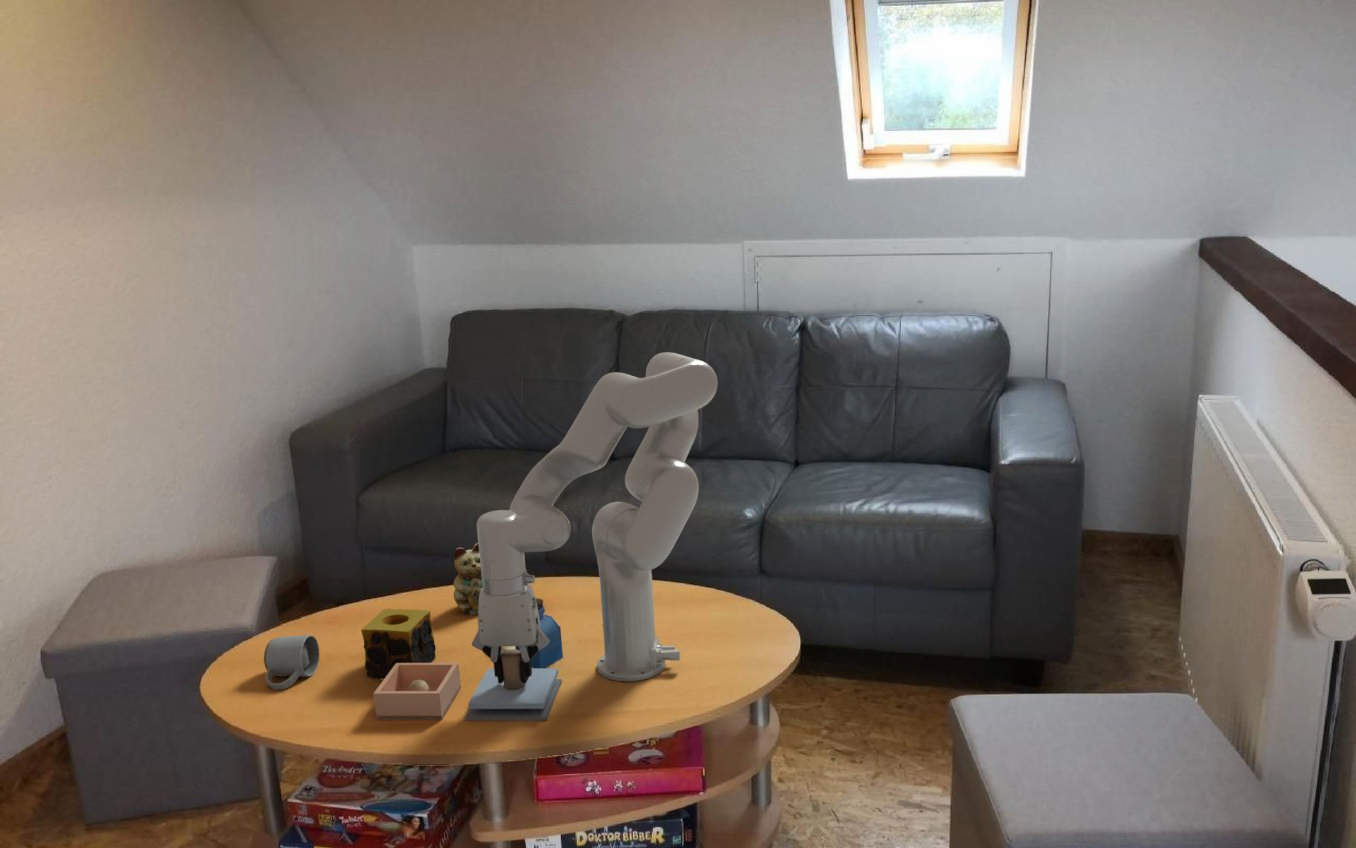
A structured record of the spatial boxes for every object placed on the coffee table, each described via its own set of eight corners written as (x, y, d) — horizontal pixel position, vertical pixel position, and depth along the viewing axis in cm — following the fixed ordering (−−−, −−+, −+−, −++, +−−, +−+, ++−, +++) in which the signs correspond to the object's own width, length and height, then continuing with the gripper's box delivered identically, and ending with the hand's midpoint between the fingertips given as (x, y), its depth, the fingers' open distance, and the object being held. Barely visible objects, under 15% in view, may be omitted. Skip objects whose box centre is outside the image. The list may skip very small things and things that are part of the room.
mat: (561, 682, 204) (561, 679, 204) (546, 720, 191) (545, 717, 191) (486, 682, 206) (486, 679, 206) (465, 720, 192) (465, 717, 192)
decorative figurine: (461, 620, 234) (454, 552, 230) (449, 607, 241) (442, 541, 237) (505, 609, 238) (499, 542, 235) (492, 596, 245) (485, 531, 242)
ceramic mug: (282, 664, 217) (276, 628, 215) (322, 665, 216) (317, 628, 214) (256, 691, 207) (250, 653, 205) (298, 692, 206) (292, 653, 204)
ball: (432, 694, 200) (430, 676, 199) (426, 704, 197) (424, 685, 196) (412, 694, 201) (410, 676, 200) (406, 704, 197) (404, 685, 196)
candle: (415, 682, 207) (409, 632, 205) (365, 679, 210) (359, 630, 207) (437, 657, 217) (432, 609, 215) (389, 655, 219) (383, 607, 217)
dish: (461, 688, 204) (458, 662, 203) (442, 720, 193) (439, 693, 192) (399, 688, 205) (396, 663, 204) (376, 719, 194) (373, 693, 193)
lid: (558, 673, 203) (555, 637, 202) (543, 708, 191) (540, 671, 189) (488, 673, 205) (484, 638, 203) (468, 708, 192) (464, 671, 190)
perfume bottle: (562, 657, 214) (558, 598, 211) (541, 670, 209) (536, 610, 206) (538, 650, 218) (533, 593, 215) (516, 663, 213) (511, 604, 210)
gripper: (556, 573, 196) (564, 670, 200) (463, 574, 197) (473, 670, 202) (547, 590, 188) (556, 690, 193) (451, 591, 190) (462, 690, 195)
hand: (513, 679), depth 197 cm, fingers closed on lid, 3 cm apart
